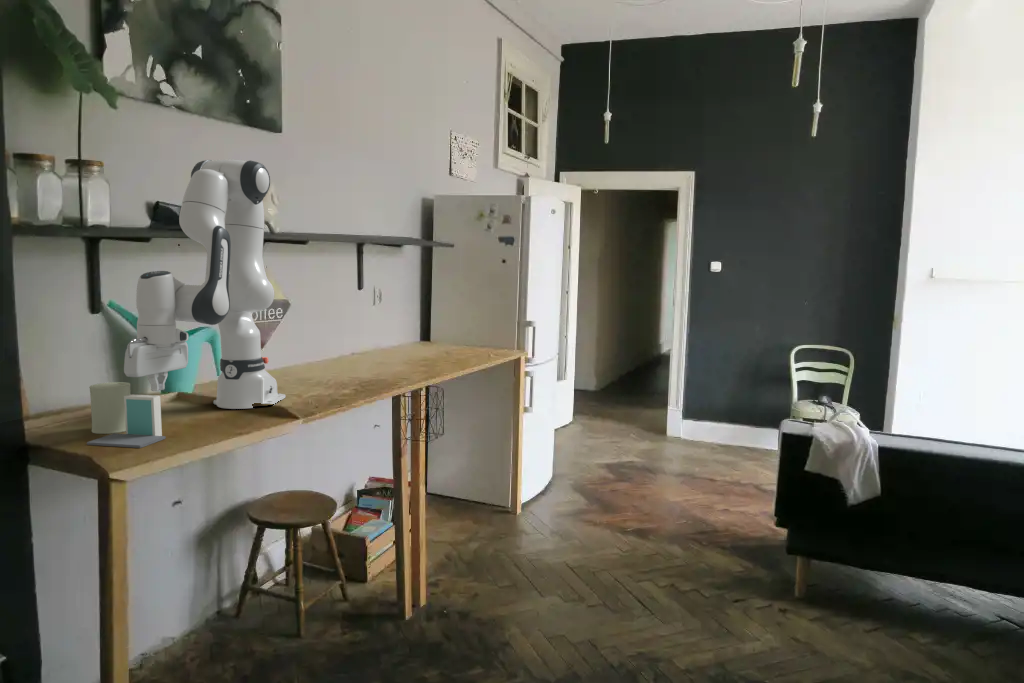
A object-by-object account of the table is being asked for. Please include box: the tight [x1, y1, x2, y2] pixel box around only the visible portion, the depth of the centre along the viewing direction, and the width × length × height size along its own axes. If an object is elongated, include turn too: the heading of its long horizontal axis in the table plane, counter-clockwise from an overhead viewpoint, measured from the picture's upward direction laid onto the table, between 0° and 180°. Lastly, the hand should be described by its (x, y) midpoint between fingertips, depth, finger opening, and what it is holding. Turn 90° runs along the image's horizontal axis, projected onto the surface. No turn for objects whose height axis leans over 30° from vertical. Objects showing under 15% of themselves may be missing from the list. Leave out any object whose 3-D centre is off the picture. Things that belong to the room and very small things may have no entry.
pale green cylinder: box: [89, 381, 131, 435], centre depth 184 cm, size 9×9×12 cm
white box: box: [124, 393, 163, 436], centre depth 178 cm, size 3×8×10 cm, turn 80°
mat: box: [86, 433, 166, 449], centre depth 172 cm, size 9×14×1 cm, turn 80°
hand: (157, 390), depth 183 cm, fingers closed
